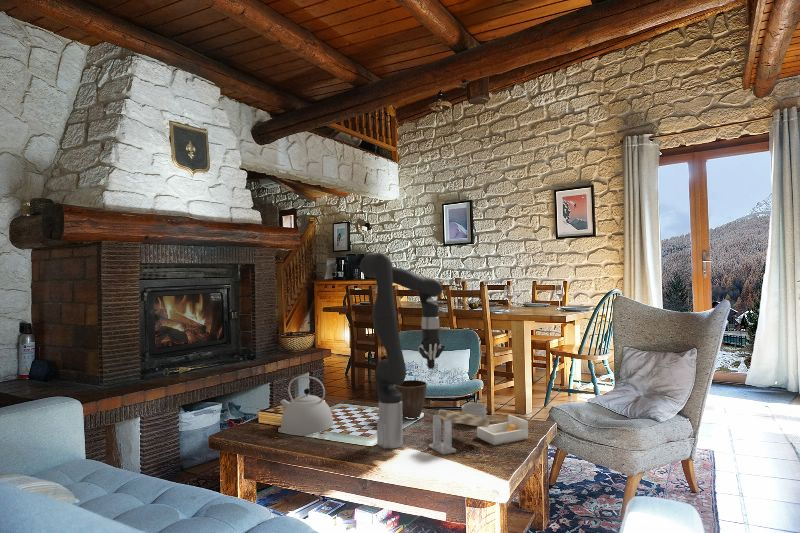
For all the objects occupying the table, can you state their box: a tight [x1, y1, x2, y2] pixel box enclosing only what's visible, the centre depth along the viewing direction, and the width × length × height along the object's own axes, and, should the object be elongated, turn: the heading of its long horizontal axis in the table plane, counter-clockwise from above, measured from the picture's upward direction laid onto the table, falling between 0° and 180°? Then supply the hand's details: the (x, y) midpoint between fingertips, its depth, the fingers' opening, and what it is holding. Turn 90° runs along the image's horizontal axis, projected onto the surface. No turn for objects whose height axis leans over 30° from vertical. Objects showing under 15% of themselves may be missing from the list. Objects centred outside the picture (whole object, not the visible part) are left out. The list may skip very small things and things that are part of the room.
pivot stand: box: [428, 414, 457, 456], centre depth 198 cm, size 6×10×12 cm, turn 27°
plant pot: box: [395, 379, 428, 418], centre depth 242 cm, size 15×15×16 cm
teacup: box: [461, 401, 487, 419], centre depth 233 cm, size 14×11×8 cm
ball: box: [507, 424, 517, 432], centre depth 213 cm, size 4×4×4 cm
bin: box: [476, 414, 529, 446], centre depth 211 cm, size 17×12×7 cm
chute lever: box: [437, 409, 490, 427], centre depth 207 cm, size 20×15×3 cm
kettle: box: [279, 375, 334, 436], centre depth 229 cm, size 25×23×22 cm
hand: (431, 368), depth 219 cm, fingers closed
